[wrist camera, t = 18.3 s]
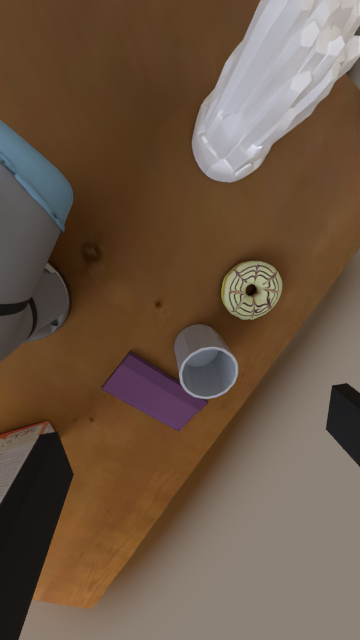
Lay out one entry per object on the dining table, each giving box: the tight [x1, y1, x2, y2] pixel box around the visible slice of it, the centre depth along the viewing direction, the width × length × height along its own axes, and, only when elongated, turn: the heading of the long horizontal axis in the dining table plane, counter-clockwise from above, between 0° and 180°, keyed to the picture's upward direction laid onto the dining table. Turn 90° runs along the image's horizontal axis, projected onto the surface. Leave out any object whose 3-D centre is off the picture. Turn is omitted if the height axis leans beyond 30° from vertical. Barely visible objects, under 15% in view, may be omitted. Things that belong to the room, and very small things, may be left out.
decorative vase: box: [191, 0, 360, 182], centre depth 24 cm, size 11×11×25 cm
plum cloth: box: [102, 351, 208, 431], centre depth 48 cm, size 10×20×1 cm, turn 51°
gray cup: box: [174, 324, 238, 399], centre depth 42 cm, size 10×10×10 cm
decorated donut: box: [221, 261, 282, 320], centre depth 42 cm, size 10×11×4 cm
